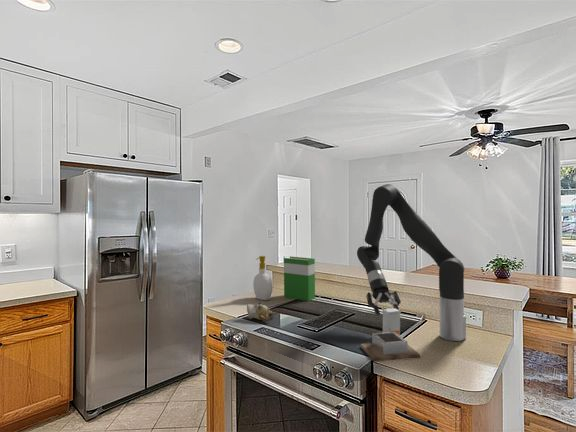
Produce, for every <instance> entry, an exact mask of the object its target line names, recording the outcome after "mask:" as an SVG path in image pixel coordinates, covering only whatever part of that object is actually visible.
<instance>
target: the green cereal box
mask: <svg viewBox="0 0 576 432" xmlns="http://www.w3.org/2000/svg"><path fill="white" fill-rule="evenodd" d="M315 261H316V259H315V258H310V257H303V256H302V257H301V256H300V257H299V256H292V255H291V256H289V258H288V257H283V291H284V292H283V298H289V299H295V300H300V301H306V302H309V301H312V300H314V299H315V298H316V272H315V271H316V270H315V269H316V267H315V266H316V265H315V263H316V262H315Z"/></svg>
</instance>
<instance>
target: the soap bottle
mask: <svg viewBox="0 0 576 432" xmlns="http://www.w3.org/2000/svg"><path fill="white" fill-rule="evenodd" d="M255 260H259V265H258V266H259V268H258V273H257V274H256V275H255V276H254V278H253V291H254V295H255V298H257V299H258V300H262V301H268V300H270V298H271V297H272V293H273V280H272V277H270V275H269V274H268V273H267V268H266V255H259V257H257V258H255Z"/></svg>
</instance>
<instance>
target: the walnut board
mask: <svg viewBox="0 0 576 432" xmlns="http://www.w3.org/2000/svg"><path fill="white" fill-rule="evenodd" d="M360 348H361V349H362V350H363V351H364V352H365V353H366V355H367V356H368V357H369V358H370V359H371V360H372V362H383V361H396V359H398V360H408V359H410V360H411V359H420V358H421V353H419V352H418V351H416V350H415V349H414V348H413V347H412V346H411V345H409V343H407V354H399V355H387V356H383V355H382V354H381V353H380V352H379V351H378V350H377V349H376V348H375V347H374V346H373V345H372V342H370V343H369V342H368V343H361V344H360Z"/></svg>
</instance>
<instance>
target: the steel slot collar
mask: <svg viewBox="0 0 576 432" xmlns="http://www.w3.org/2000/svg"><path fill="white" fill-rule="evenodd" d="M371 337H372V339H371V341H372V342H371V343H372V345H373V346H374V347H375V348H376V349H377V350H378V351H379V352H380V353H381V354H382V355H383V356H387V355H399V354H407V344H408V340H406V339H404V337H402V336H401V335H400V336H399V335H398V334H397V333H396V332H383V331H382V332H373V333H372V334H371Z"/></svg>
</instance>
